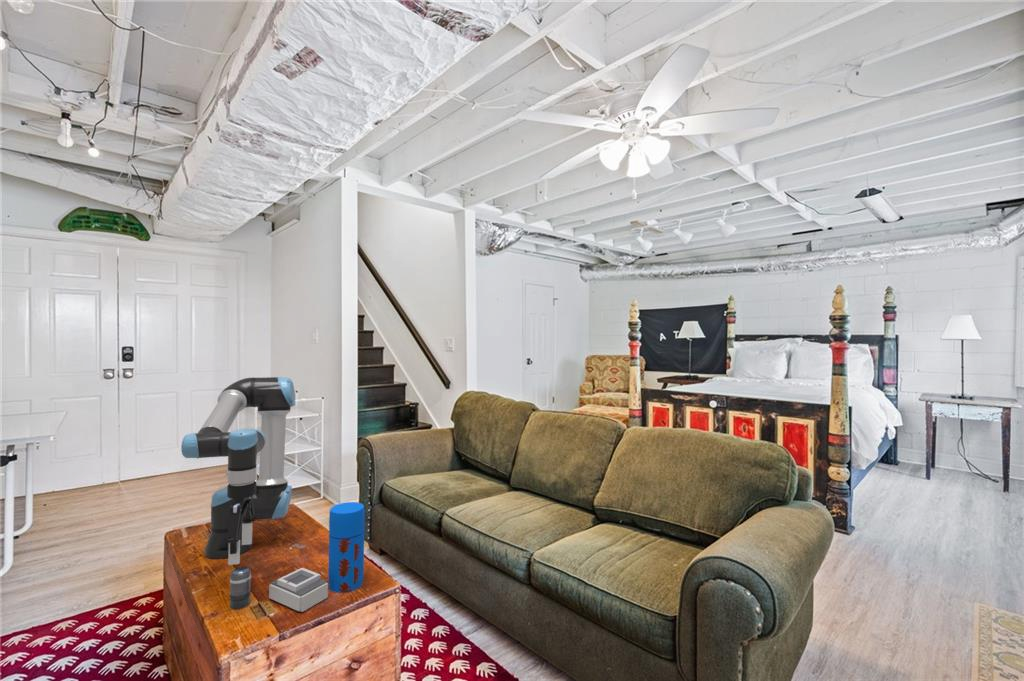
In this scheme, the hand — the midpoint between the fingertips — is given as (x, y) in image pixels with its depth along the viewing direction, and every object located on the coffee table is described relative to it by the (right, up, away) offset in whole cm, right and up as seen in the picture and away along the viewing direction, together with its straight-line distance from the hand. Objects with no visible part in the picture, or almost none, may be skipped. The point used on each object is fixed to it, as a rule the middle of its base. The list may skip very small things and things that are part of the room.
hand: (240, 553), depth 138 cm
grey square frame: (+15, -16, +4) cm, 22 cm away
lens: (0, -15, 0) cm, 15 cm away
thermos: (+27, -16, +13) cm, 34 cm away
